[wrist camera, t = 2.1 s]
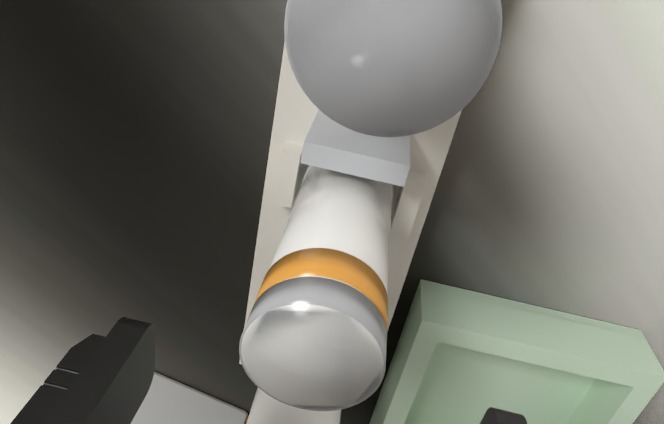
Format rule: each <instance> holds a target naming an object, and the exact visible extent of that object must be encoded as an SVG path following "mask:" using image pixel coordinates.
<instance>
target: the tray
mask: <svg viewBox="0 0 664 424" xmlns="http://www.w3.org/2000/svg"><path fill="white" fill-rule="evenodd" d="M663 383H664V370H663V368H662V367H661V365H660V363H659V361H658V360H657V358H656V356H655V354H654V353H653V351H652V349H651V347H650V346H649V344H648V342H647V340H646V339H645V337H644V335H643V333H642V332H641V330H638V329H634V328H629V327H625V326H621V325H616V324H612V323H608V322H603V321H599V320H595V319H590V318H586V317H582V316H577V315H573V314H569V313H565V312H560V311H556V310H552V309H547V308H543V307H539V306H534V305H530V304H526V303H521V302H517V301H513V300H509V299H504V298H500V297H496V296H491V295H487V294H483V293H478V292H474V291H470V290H465V289H461V288H457V287H452V286H448V285H444V284H440V283H435V282H431V281H427V280H422V279H420V282H419V285H418V287H417V290H416V293H415V296H414V299H413V302H412V304H411V307H410V310H409V313H408V316H407V318H406V321H405V324H404V327H403V330H402V333H401V335H400V338H399V341H398V344H397V347H396V349H395V352H394V355H393V358H392V361H391V363H390V366H389V369H388V372H387V375H386V378H385V380H384V383H383V386H382V389H381V392H380V394H379V397H378V400H377V403H376V406H375V408H374V411H373V414H372V417H371V420H370V424H480V422H481V420H482V418H483V416H484V415H485V413H486V411H487V409H488V408H490V407H493V408H497V409H501V410H505V411H509V412H513V413H517V414H521V415H523V416H524V417H525V419H526V421H527V424H632V423H633V422H634V421H635V419H636V418H637V417H638V416H639V414H640V413H641V412H642V410H643V409H644V408H645V406H646V405H647V404H648V402H649V401H650V400H651V398H652V397H653V396H654V395H655V393H656V392H657V391H658V389H659V388H660V387H661V385H662V384H663Z"/></svg>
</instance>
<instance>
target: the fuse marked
mask: <svg viewBox="0 0 664 424" xmlns="http://www.w3.org/2000/svg"><path fill="white" fill-rule="evenodd" d="M393 189H394V185H393V184H389V183H385V182H380V181H376V180H371V179H367V178H363V177H358V176H354V175H350V174H345V173H341V172H337V171H332V170H328V169H324V168H319V167H315V166H311V165H308V167H307V170H306V173H305V175H304V178H303V181H302V186H301V189H300V191H299V194H298V197H297V199H296V202H295V204H294V207H293V209H292V212H291V215H290V217H289V220H288V222H287V225H286V228H285V230H284V233H283V235H282V238H281V240H280V243H279V246H278V248H277V251H276V253H275V256H274V258H273V261H272V264H271V266H270V269H269V270H268V272H267V273H266V275H265V277H264V280H263V282H262V285H261V287H260V290H259V292H258V295H257V297H256V300H255V302H254V305H253V307H252V310H251V313H250V315H249V318H248V320H247V323H246V325H245V328H244V330H243V333H242V335H241V339H240V343H239V354H240V360H241V363H242V366H243V368H244V370H245V372H246V373H247V375H248V376H249V378H250V379H251V380H252V381H253V383H254V384H255V385H256V386H257V387H258V388H260V389H261V390H262V391H263V392H265V393H266V394H267V395H269V396H270V397H272V398H274V399H276V400H278V401H280V402H282V403H284V404H287V405H289V406H292V407H296V408H299V409H305V410H311V411H335V410H341V409H345V408H349V407H352V406H354V405H357V404H359V403H361V402H362V401H364V400H366V399H367V398H368V397H370V396H371V395H372V394H373V393H374V392H375V391H376V390H377V389H378V387H379V386H380V384H381V382H382V380H383V378H384V374H385V368H386V348H387V325H388V295H387V287H388V266H389V246H390V225H391V206H392V202H393Z"/></svg>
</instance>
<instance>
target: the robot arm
mask: <svg viewBox="0 0 664 424" xmlns="http://www.w3.org/2000/svg"><path fill="white" fill-rule="evenodd" d="M155 332H156V330H155V325H154V324H150V323H146V322H141V321H137V320H133V319H129V318H125V317H123V318H121V319H119V320H118V322H117V323H116V324H115V325H114V327H113V328H112V329H111V331H110V332H109V334H108V335H107V336H106V337H103V336H99V335H95V334H92V335H90V336H89V337H87V338H86V339H84V340H83V341H81V342H80V343H78V344H77V345H75V346H73V347H72V348H71V349H70V350H69V351H68V353H67V354H66V355H65V356H64V358H63V359H62V360H61V361H60V363H59V364H58V365H57V367H56V370H53V371H52V373H51V374H50V375H49V376H48V378H47V379H46V380H45V381H44V385H43V386H42V385H41V386H40V388H39V389H38V390H37V391H36V393H35V394H34V395H33V396H32V398H31V399H30V400H29V401H28V403H27V404H26V405H25V406H24V408H23V409H22V410H21V411H20V413H19V414H18V415H17V416H16V417H15V419H14V420H13V421H12V422H11V424H131V422H132V420H133V418H134V416H135V415H136V413H137V411H138V409H139V407H140V406H141V404H142V402H143V400H144V399H145V397H146V395H147V393H148V391H149V388H150V386H151V383H152V379H153V375H154V370H155ZM480 424H527V421H526V419H525V417H524V416H523V415H521V414H517V413H513V412H509V411H505V410H501V409H497V408H493V407H490V408H488V409H487V411H486V413H485V415H484V416H483V418H482V420H481V422H480Z"/></svg>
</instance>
